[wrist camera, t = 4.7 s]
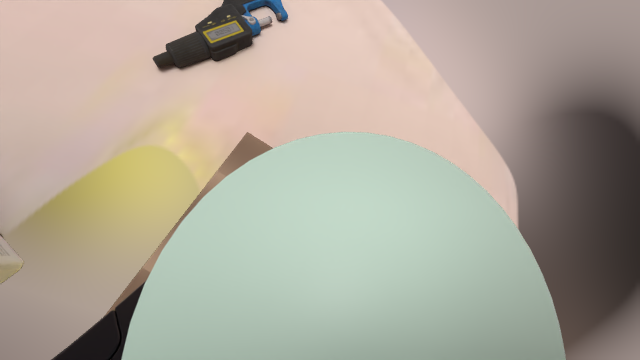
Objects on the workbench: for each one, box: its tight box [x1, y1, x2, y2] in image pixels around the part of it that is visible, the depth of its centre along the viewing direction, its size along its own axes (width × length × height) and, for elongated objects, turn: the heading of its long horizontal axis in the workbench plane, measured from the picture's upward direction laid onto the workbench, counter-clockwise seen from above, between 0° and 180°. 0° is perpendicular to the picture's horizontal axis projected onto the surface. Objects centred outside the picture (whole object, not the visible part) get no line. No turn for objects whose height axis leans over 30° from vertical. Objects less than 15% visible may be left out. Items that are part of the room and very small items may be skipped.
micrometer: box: [153, 0, 288, 68], centre depth 21 cm, size 12×2×5 cm
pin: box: [121, 132, 566, 360], centre depth 9 cm, size 4×4×13 cm
